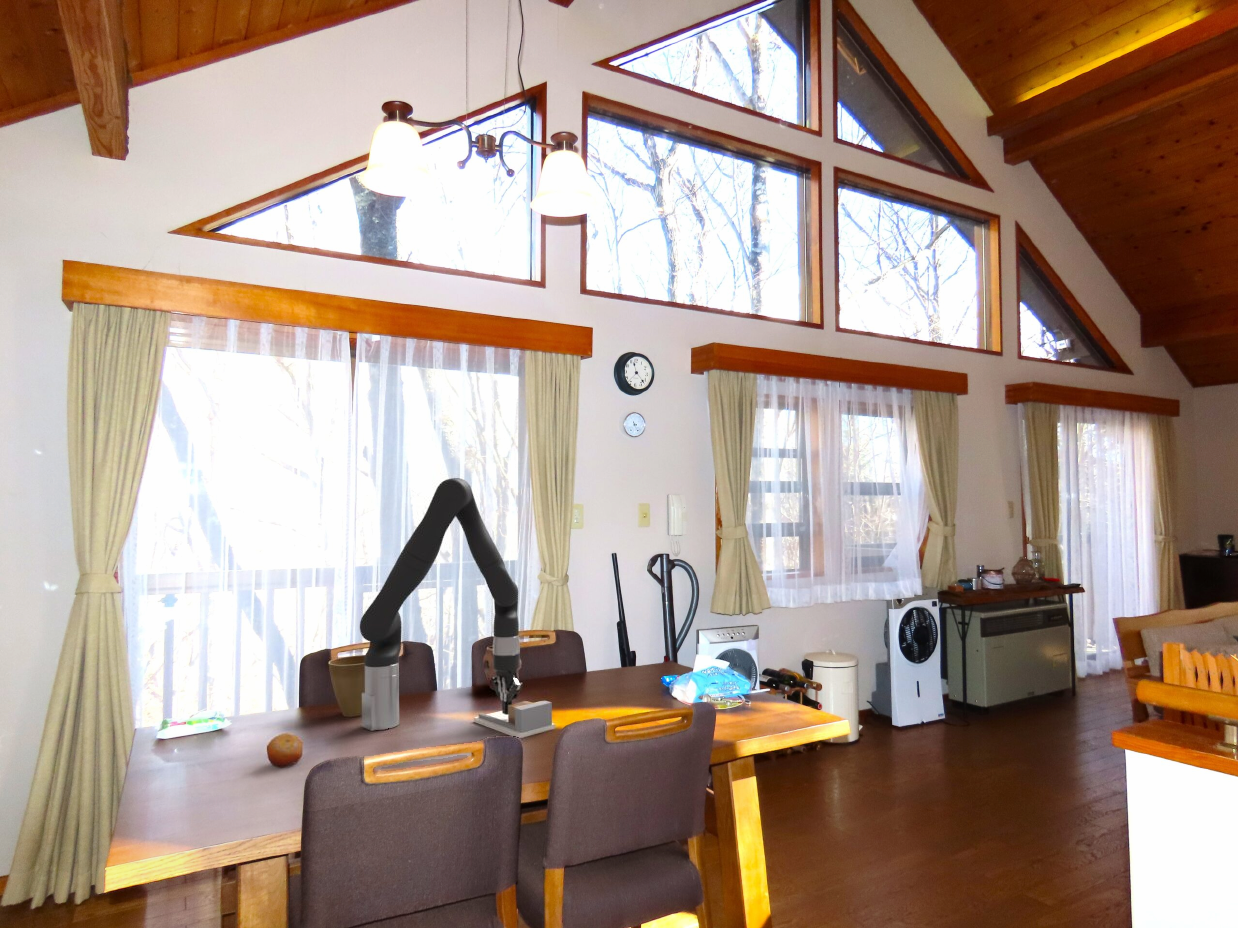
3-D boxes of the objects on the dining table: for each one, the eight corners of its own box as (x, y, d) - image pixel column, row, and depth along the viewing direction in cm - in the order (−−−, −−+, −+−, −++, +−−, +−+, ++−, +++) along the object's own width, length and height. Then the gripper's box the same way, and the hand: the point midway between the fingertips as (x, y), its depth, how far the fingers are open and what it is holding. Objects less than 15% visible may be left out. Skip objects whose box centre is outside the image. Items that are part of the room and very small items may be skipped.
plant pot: (389, 706, 234) (388, 654, 235) (368, 720, 219) (368, 664, 220) (342, 706, 235) (342, 654, 236) (319, 720, 221) (319, 664, 221)
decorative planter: (472, 684, 260) (471, 643, 260) (504, 679, 267) (503, 639, 268) (498, 696, 244) (498, 652, 244) (532, 690, 251) (531, 647, 251)
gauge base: (518, 738, 200) (518, 710, 200) (473, 721, 216) (473, 695, 216) (554, 728, 208) (554, 701, 208) (509, 712, 224) (508, 688, 224)
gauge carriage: (516, 729, 203) (516, 707, 203) (503, 724, 207) (503, 703, 208) (543, 721, 209) (543, 701, 209) (530, 717, 213) (530, 697, 214)
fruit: (288, 749, 190) (296, 724, 188) (302, 771, 186) (310, 746, 184) (256, 758, 184) (264, 732, 182) (269, 781, 180) (278, 755, 177)
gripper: (482, 650, 217) (483, 711, 216) (508, 656, 207) (509, 721, 206) (504, 646, 222) (505, 706, 221) (530, 652, 212) (531, 715, 211)
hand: (507, 713), depth 214 cm, fingers closed
